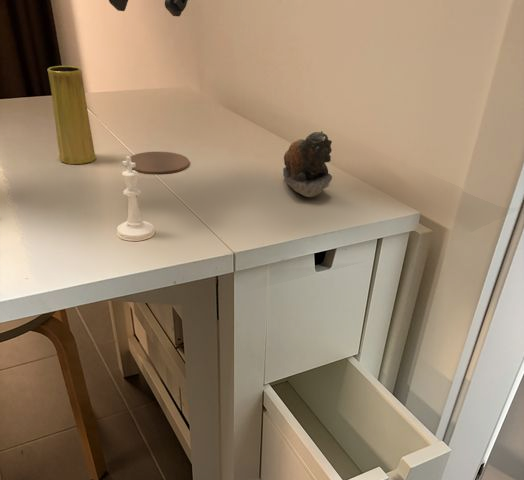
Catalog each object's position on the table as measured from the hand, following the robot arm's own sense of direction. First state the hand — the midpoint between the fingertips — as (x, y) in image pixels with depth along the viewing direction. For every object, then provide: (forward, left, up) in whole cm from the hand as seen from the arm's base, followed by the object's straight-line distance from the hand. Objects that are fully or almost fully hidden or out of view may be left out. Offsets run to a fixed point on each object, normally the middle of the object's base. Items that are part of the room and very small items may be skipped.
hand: (143, 9), depth 63 cm
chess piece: (-5, -3, -25) cm, 26 cm away
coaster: (+13, +19, -25) cm, 34 cm away
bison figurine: (+25, -5, -25) cm, 36 cm away
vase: (+3, +29, -25) cm, 39 cm away
